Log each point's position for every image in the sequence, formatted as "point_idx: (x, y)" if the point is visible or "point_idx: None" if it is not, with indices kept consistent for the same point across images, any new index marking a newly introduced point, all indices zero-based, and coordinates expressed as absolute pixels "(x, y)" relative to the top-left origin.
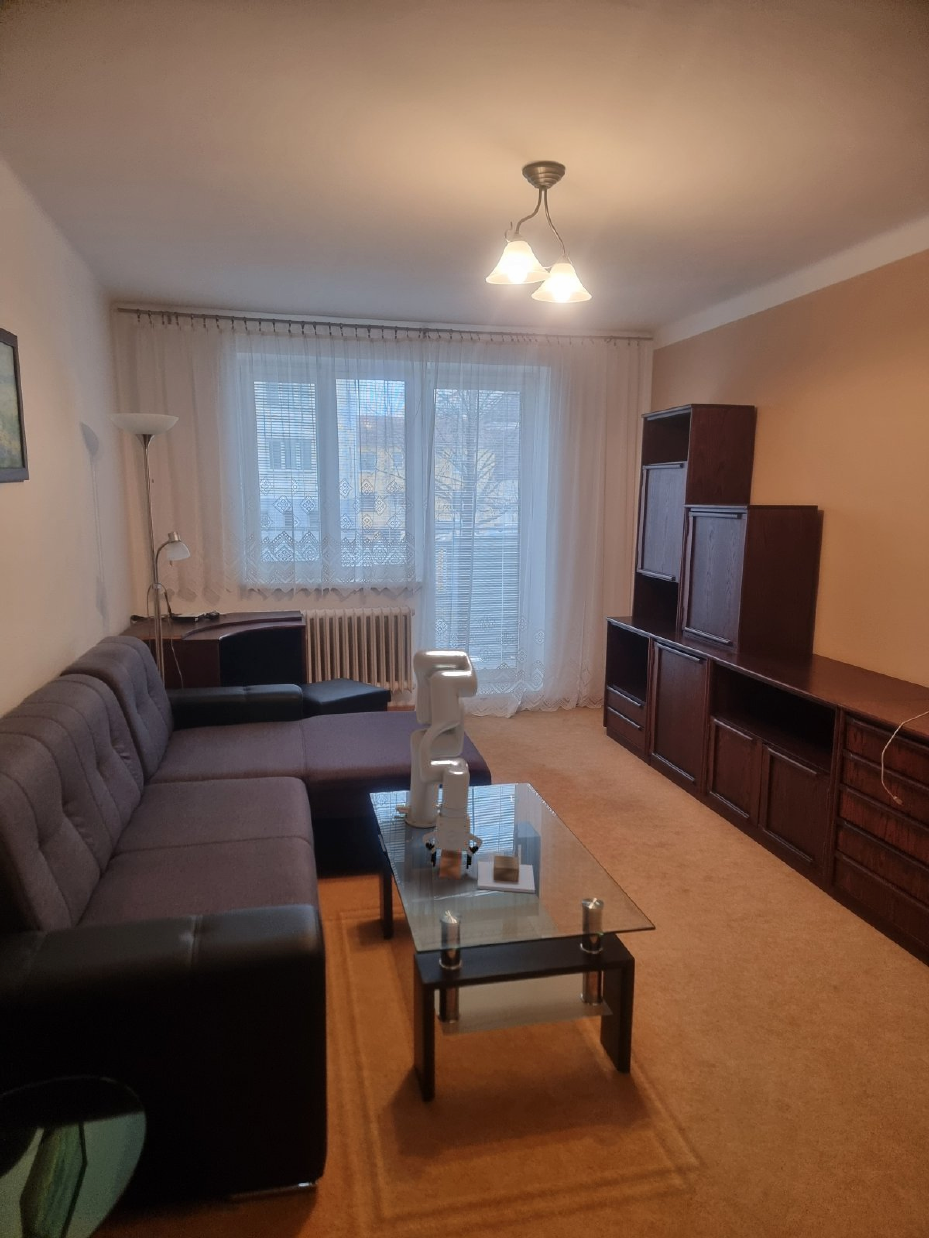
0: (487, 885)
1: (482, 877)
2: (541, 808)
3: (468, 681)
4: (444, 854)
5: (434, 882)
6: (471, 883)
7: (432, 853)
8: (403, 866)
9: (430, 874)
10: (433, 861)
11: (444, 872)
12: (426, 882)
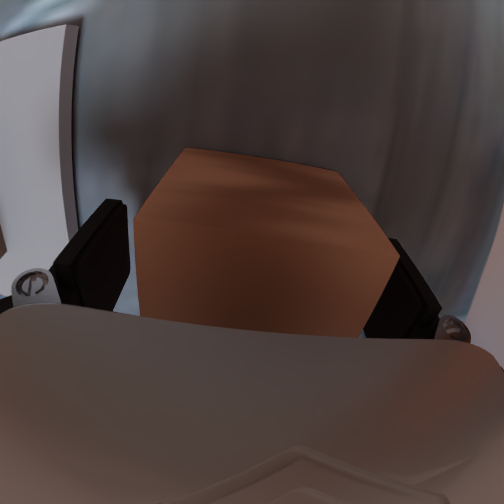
0: (13, 45)
1: (35, 139)
2: None
3: None
4: (333, 317)
5: (380, 109)
6: (110, 94)
7: (444, 316)
8: (467, 286)
9: (382, 211)
10: (409, 261)
11: (310, 178)
12: (426, 118)
